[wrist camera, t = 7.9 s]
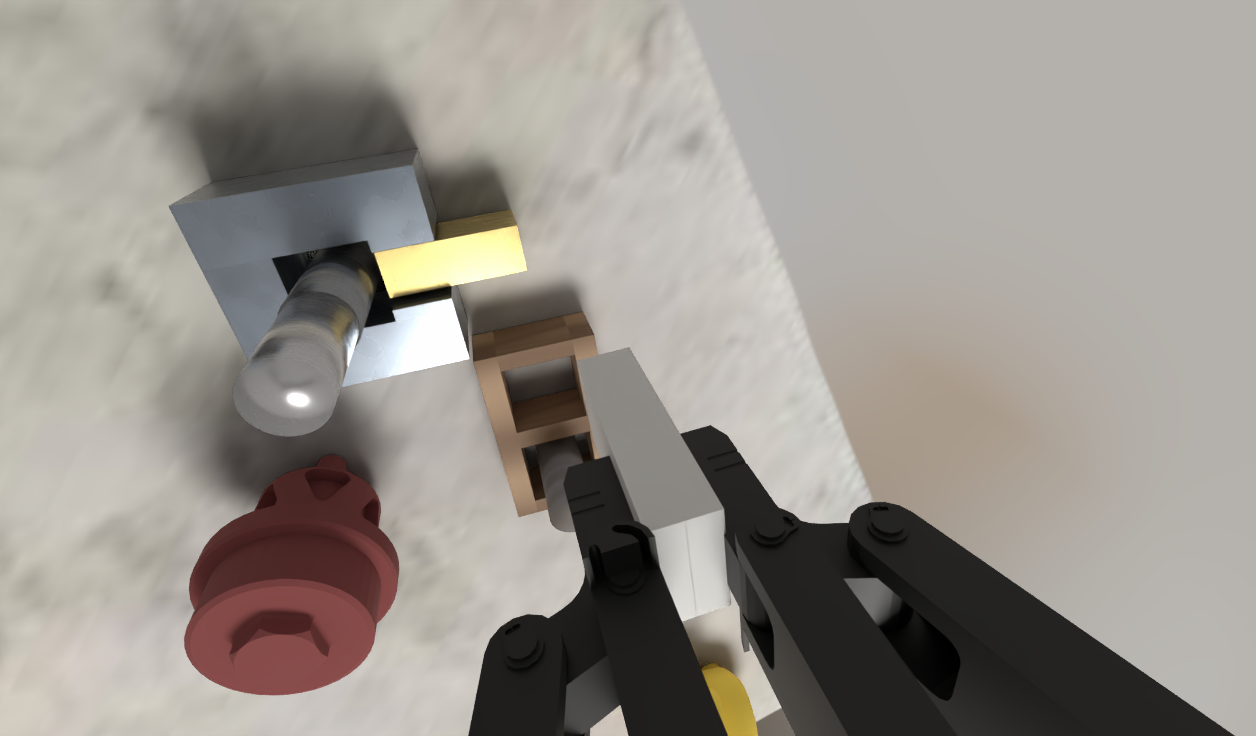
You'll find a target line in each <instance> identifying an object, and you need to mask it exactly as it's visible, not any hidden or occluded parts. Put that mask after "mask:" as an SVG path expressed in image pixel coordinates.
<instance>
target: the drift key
mask: <svg viewBox="0 0 1256 736" xmlns="http://www.w3.org/2000/svg"><path fill="white" fill-rule="evenodd" d="M374 254H375V257H376V260H377V263H378V266H379V268H380V271H381V274H382V277H383V280H384V283H385V285H386V288H387V291H388V294H389V297H390V298H393V297H398V296H403V295H408V294H413V293H418V292H423V291H428V290H433V289H438V288H443V287H448V286H452V285H457V284H462V283H467V282H472V281H477V280H482V279H487V278H492V277H497V276H502V275H507V274H512V273H516V272H521V271H526V270H527V269H526V264H525V259H524V255H523V250H522V246H521V241H520V237H519V232H518V227H517V224H516V221H515V218H514V215H513V212H512V210H511V209H510V210H505V211H499V212H494V213H489V214H483V215H478V216H472V217H467V218H462V219H456V220H451V221H446V222H440V223H436V231H435V241H430V242H425V243H420V244H415V245H409V246H404V247H399V248H394V249H388V250H383V251H378V252H374Z"/></svg>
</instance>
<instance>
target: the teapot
mask: <svg viewBox="0 0 1256 736" xmlns="http://www.w3.org/2000/svg"><path fill="white" fill-rule="evenodd" d="M701 670H702V672H703V675H704V677H705V680H706V682H707V685H708V687H709V690H710V692H711V695H712V697H713V700H714V702H715V705H716V707H717V710H718V712H719V714H720V717H721V719H722V722H723V724H724V727H725V729H726V732H727V734H728V736H758V734H757V727H756V722H755V717H754V714H753V710H752V706H751V703H750V700H749V697H748V695H747V693H746V690H745V688H744V686H743V684H742V683H741V681H740V680H739V679H738V678H737V677H736V676H735V675H734V674H733V673H731V672H730V671H728V670H727V669H725V668H722V667H719V665H718V664H716V663H711V664H708V665H706V666H704V667H703V668H702V669H701Z"/></svg>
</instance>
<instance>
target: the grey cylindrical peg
mask: <svg viewBox="0 0 1256 736" xmlns="http://www.w3.org/2000/svg"><path fill="white" fill-rule="evenodd" d="M380 276H381V271H380V268H379V266H378V263H377V260H376V257H375V254H374V252H373V253H372V252H371V249H370V246H369V244H368V241H367V240H366V241H361V242H355V243H350V244H345V245H339V246H334V247H329V248H323V249H319V250H318V251H317V253H316V254H315V256H314V257H313V259H312V260H311V262H310V263H309V265H308V266H307V268H306V269H305V271H304V272H303V274H302V275H301V277H300V278H299V280H298V281H297V283H296V284H295V286H294V287H293V289H292V290H291V292H290V293H289V295H288V296H287V298H286V299H285V301H284V302H283V304H282V305H281V307H280V309H279V311H278V315H277V318H276V319H275V321H274V322H273V324H272V325H271V327H270V328H269V330H268V331H267V333H266V334H265V336H264V337H263V339H262V341H261V342H260V344H259V345H258V347H257V348H256V350H255V351H254V353H253V354H252V356H251V357H250V359H249V360H248V362H247V363H246V365H245V366H244V368H243V369H242V371H241V372H240V374H239V375H238V377H237V378H236V380H235V383H234V386H233V392H232V395H233V401H234V405H235V407H236V409H237V411H238V412H239V414H240V415H241V416H242V417H243V418H244V419H245V420H246V421H247V422H248V423H249V424H251V425H252V426H253V427H255V428H257V429H259V430H261V431H263V432H266V433H269V434H273V435H277V436H300V435H304V434H308V433H311V432H313V431H315V430H317V429H319V428H320V427H322V426H323V425H324V424H325V423H326V422H327V421H328V420H329V418H330V417H331V415H332V413H333V411H334V408H335V405H336V402H337V399H338V396H339V393H340V390H341V387H342V384H343V381H344V378H345V375H346V372H347V369H348V366H349V363H350V360H351V357H352V354H353V351H354V348H355V347H356V345H357V344H358V342H359V340H360V338H361V335H362V332H363V329H364V326H365V323H366V320H367V316H368V313H369V310H370V307H371V304H372V301H373V298H374V295H375V292H376V289H377V286H378V283H379V279H380Z"/></svg>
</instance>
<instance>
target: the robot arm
mask: <svg viewBox="0 0 1256 736" xmlns="http://www.w3.org/2000/svg"><path fill="white" fill-rule="evenodd" d="M576 362H577V366H578V371H579V375H580V380H581V385H582V389H583V394H584V399H585V403H586V408H587V413H588V417H589V422H590V426H591V431H592V436H593V440H594V443H595V446H596V448H597V451H598V454H599V457H600V458H599V459H595V460H592V461H588V462H585V463H581V464H578V465H574V466H571V467H568V470H567V473H566V476H565V480H564V483H563V485H564V489H565V493H566V497H567V501H568V505H569V509H570V512H571V516H572V520H573V524H574V528H575V532H576V536H577V539H578V543H579V547H580V551H581V555H582V560H583V564H584V568H585V578H584V583H583V585H582V587H581V589H580V591H579V593H578V594H577V596H576V597H575V598H574V599H573V601H572V602H570V603H569V604H568V605H567V606H566V607H564V608H563V609H562V610H560V611H559V612H557V613H556V614H554V615H553V616H551V617H550V618H546V617H544V616H542V615H531V614H527V615H524V616H520V617H517V618H514V619H512V620H510V621H509V622H507V623H506V624H504V625H503V626H501V627H500V628H499V629H498V630H497V632H496V633H495V634H494V635H493V636H492V638H491V639H490V641H489V643H488V646H487V648H486V651H485V653H484V659H483V664H482V669H481V674H480V679H479V684H478V689H477V694H476V700H475V705H474V710H473V715H472V720H471V725H470V730H469V735H468V736H590V728H591V727H593V726H594V725H595V724H596V723H598V722H599V721H600V720H602V719H603V718H604V717H605V716H607V715H608V714H609V713H610V712H612V711H613V710H614V709H615V708H617V707H618V706H619V705H621V708H622V712H623V716H624V720H625V724H626V727H627V731H628V735H629V736H728V734H727V732H726V729H725V727H724V724H723V722H722V719H721V717H720V714H719V712H718V710H717V707H716V705H715V702H714V700H713V697H712V695H711V692H710V690H709V687H708V685H707V682H706V680H705V677H704V675H703V672H702V670H701V668H700V665H699V663H698V660H697V658H696V655H695V653H694V650H693V648H692V645H691V643H690V640H689V638H688V635H687V633H686V631H685V628H684V626H683V623H682V621H685V620H688V619H691V618H694V617H697V616H700V615H703V614H706V613H709V612H712V611H715V610H718V609H721V608H724V607H727V606H730V605H731V596H730V590H731V592H732V594H733V596H734V598H735V600H736V601H737V603H738V605H739V607H740V623H741V639H742V645H743V649H744V652H747V651H750V650H749V642H750V644H751V646H752V648H753V650H754V652H755V654H756V656H757V658H758V660H759V662H760V664H761V666H762V668H763V670H764V672H765V674H766V677H767V679H768V681H769V683H770V685H771V687H772V689H773V691H774V693H775V695H776V697H777V699H778V701H779V703H780V705H781V707H782V709H783V711H784V713H785V715H786V717H787V719H788V721H789V723H790V725H791V727H792V729H793V731H794V733H795V735H796V736H1234V735H1233V734H1231V733H1230V732H1228V731H1227V730H1226V729H1224V728H1223V727H1221V726H1220V725H1218V724H1217V723H1216V722H1214V721H1212V720H1211V719H1210V718H1208V717H1207V716H1205V715H1204V714H1203V713H1201V712H1200V711H1198V710H1197V709H1195V708H1194V707H1193V706H1191V705H1190V704H1188V703H1187V702H1185V701H1184V700H1182V699H1181V698H1180V697H1178V696H1177V695H1175V694H1174V693H1172V692H1171V691H1169V690H1168V689H1167V688H1165V687H1164V686H1162V685H1161V684H1159V683H1158V682H1156V681H1155V680H1154V679H1152V678H1151V677H1149V676H1148V675H1146V674H1145V673H1144V672H1142V671H1141V670H1139V669H1138V668H1136V667H1135V666H1133V665H1132V664H1131V663H1129V662H1128V661H1126V660H1125V659H1123V658H1122V657H1120V656H1119V655H1118V654H1116V653H1115V652H1113V651H1112V650H1110V649H1109V648H1107V647H1106V646H1104V645H1103V644H1102V643H1100V642H1099V641H1097V640H1096V639H1094V638H1093V637H1092V636H1090V635H1089V634H1087V633H1086V632H1084V631H1083V630H1082V629H1080V628H1079V627H1077V626H1076V625H1074V624H1073V623H1071V622H1070V621H1069V620H1067V619H1066V618H1064V617H1063V616H1061V615H1060V614H1058V613H1057V612H1056V611H1054V610H1053V609H1051V608H1050V607H1048V606H1047V605H1046V604H1044V603H1043V602H1041V601H1040V600H1038V599H1037V598H1035V597H1034V596H1033V595H1031V594H1029V593H1028V592H1027V591H1025V590H1024V589H1022V588H1021V587H1020V586H1018V585H1017V584H1015V583H1014V582H1012V581H1011V580H1009V579H1008V578H1007V577H1005V576H1004V575H1002V574H1001V573H999V572H998V571H996V570H995V569H994V568H992V567H991V566H989V565H988V564H986V563H985V562H984V561H982V560H981V559H979V558H978V557H976V556H975V555H973V554H972V553H970V552H969V551H968V550H966V549H965V548H963V547H962V546H960V545H959V544H957V543H956V542H955V541H953V540H952V539H950V538H949V537H947V536H946V535H945V534H943V533H942V532H940V531H939V530H937V529H936V528H935V527H933V526H932V525H930V524H929V523H927V522H926V521H924V520H923V519H922V518H920V517H918V516H917V515H916V514H914V513H913V512H911V511H909V510H907V509H905V508H903V507H901V506H899V505H895V504H890V503H886V502H873V503H868V504H865V505H862V506H860V507H858V508H857V509H856V510H855V511H854V512H853V513H852V514H851V517H850V521H849V523H832V524H815V523H807V522H803V521H800V520H799V519H798V518H797V517H796V516H795V515H794V514H792V513H790V512H788V511H786V510H784V509H781V508H779V507H778V506H777V505H776V504H775V503H774V501H773V500H772V498H771V497H770V496H769V494H768V493H767V491H766V490H765V489H764V487H763V486H762V484H761V483H760V481H759V480H758V479H757V477H756V476H755V474H754V473H753V471H752V470H751V469H750V467H749V466H748V464H746V463H745V460H744V459H743V457H742V456H741V454H740V453H739V452H737V449H736V447H735V446H734V444H733V443H732V442H731V440H730V439H729V437H728V436H727V435H726V434H724V433H722V432H721V431H719V430H717V429H716V428H714V427H712V426H711V425H710V426H706V427H703V428H699V429H696V430H692V431H689V432H685V433H682V434H680V433H679V431H678V430H677V428H676V426H675V424H674V423H673V421H672V419H671V418H670V416H669V414H668V413H667V411H666V409H665V407H664V406H663V404H662V402H661V401H660V399H659V397H658V396H657V394H656V392H655V390H654V389H653V387H652V385H651V384H650V382H649V380H648V379H647V377H646V375H645V373H644V372H643V370H642V368H641V367H640V365H639V363H638V361H637V360H636V358H635V356H634V355H633V353H632V351H631V350H630V348H625V349H621V350H617V351H613V352H609V353H605V354H601V355H597V356H593V357H590V358H586V359H582V360H578V361H576Z"/></svg>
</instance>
